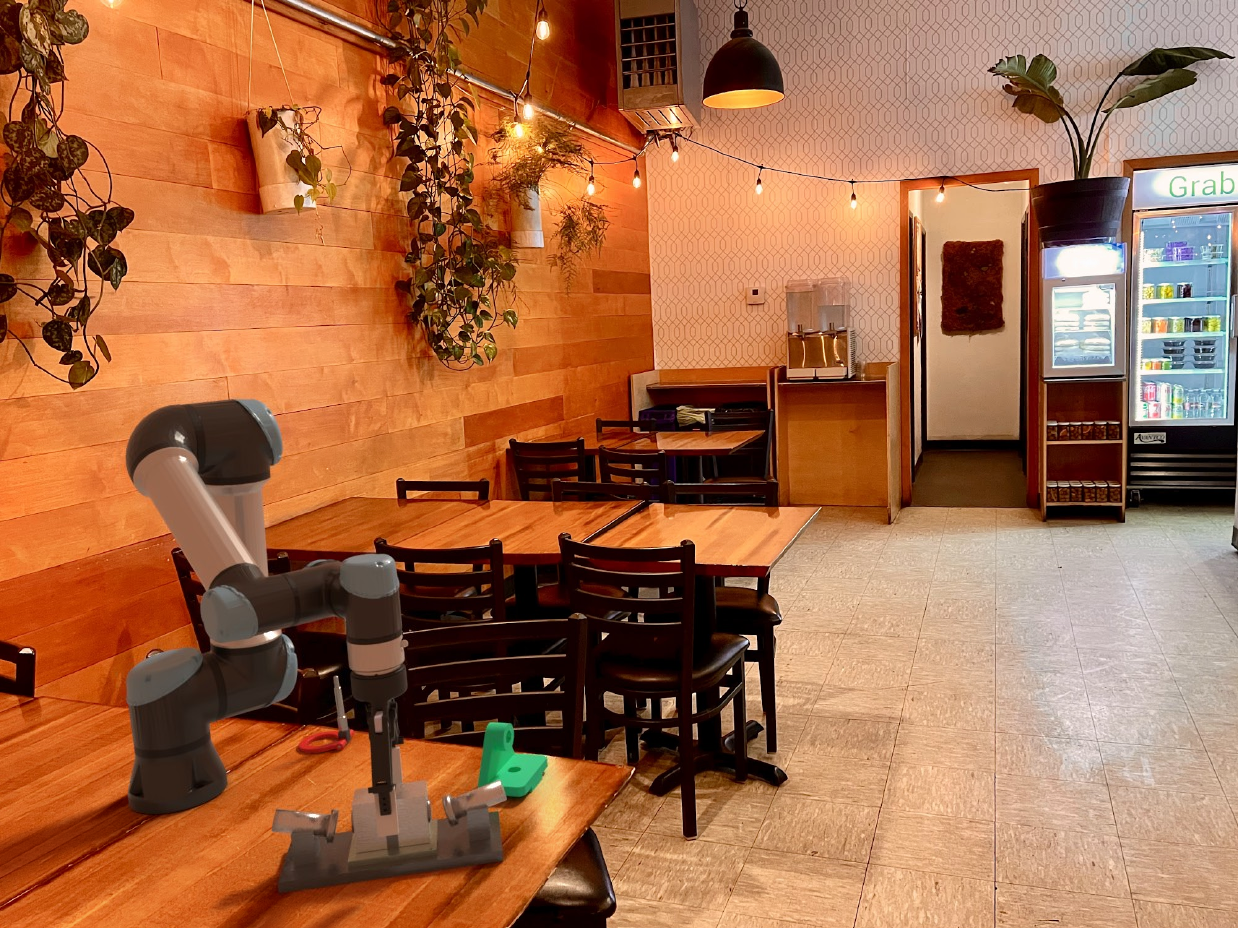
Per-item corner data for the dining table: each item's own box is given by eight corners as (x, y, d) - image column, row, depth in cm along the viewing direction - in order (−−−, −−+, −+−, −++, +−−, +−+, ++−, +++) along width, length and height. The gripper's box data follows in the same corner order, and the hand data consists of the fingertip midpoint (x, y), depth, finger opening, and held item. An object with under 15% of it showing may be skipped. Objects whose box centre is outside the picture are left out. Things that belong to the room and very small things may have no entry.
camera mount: (524, 803, 154) (519, 740, 153) (479, 800, 157) (473, 738, 155) (550, 770, 166) (545, 711, 165) (507, 767, 168) (503, 709, 167)
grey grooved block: (353, 853, 137) (348, 805, 136) (356, 835, 142) (352, 789, 141) (432, 842, 139) (428, 794, 138) (433, 825, 144) (428, 779, 143)
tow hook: (292, 757, 178) (342, 752, 178) (281, 688, 177) (332, 683, 176) (309, 738, 187) (356, 734, 186) (299, 672, 185) (347, 668, 185)
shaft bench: (269, 894, 132) (262, 831, 131) (283, 849, 144) (277, 791, 143) (512, 859, 137) (507, 798, 136) (507, 819, 149) (502, 762, 148)
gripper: (401, 694, 126) (415, 851, 128) (408, 637, 150) (420, 770, 153) (340, 701, 124) (356, 859, 127) (358, 643, 149) (371, 777, 151)
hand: (391, 811), depth 140 cm, fingers open, 13 cm apart
